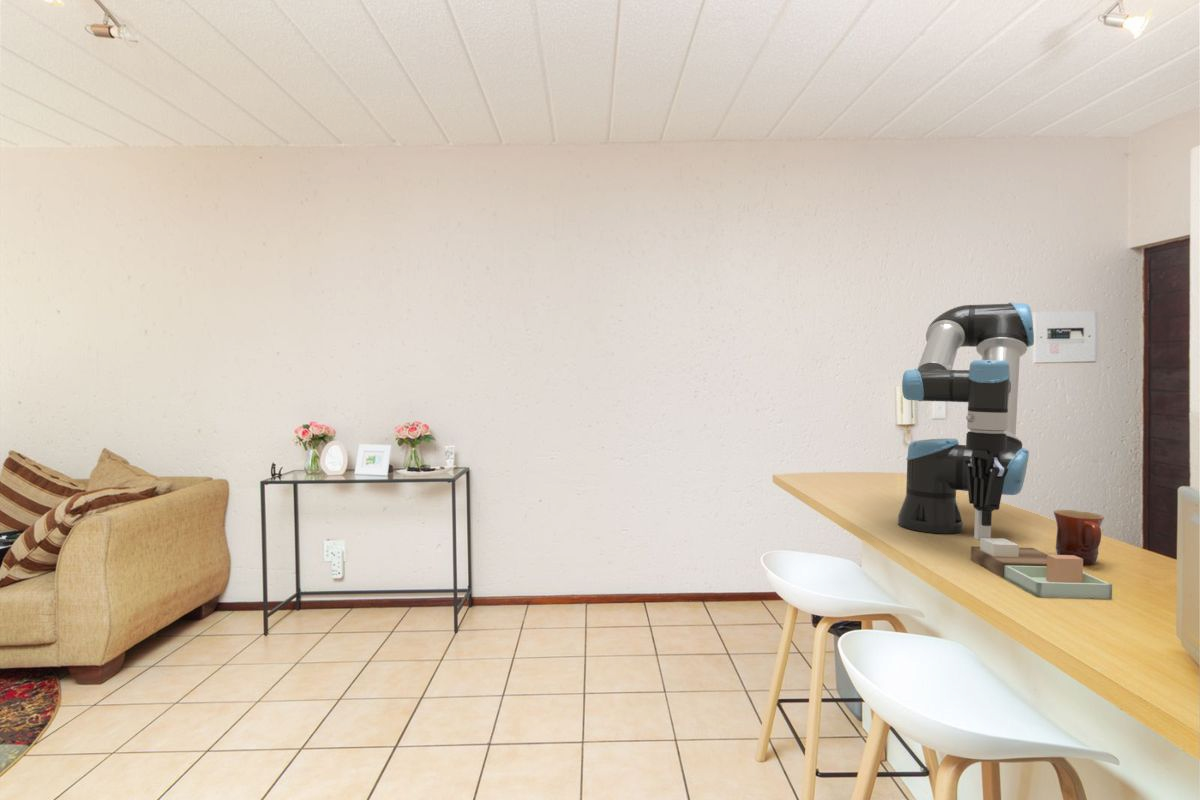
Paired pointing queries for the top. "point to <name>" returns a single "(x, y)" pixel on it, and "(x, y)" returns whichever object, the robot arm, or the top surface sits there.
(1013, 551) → the tile white
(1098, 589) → the tray
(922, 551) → the top surface
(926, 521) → the robot arm
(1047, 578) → the tile terracotta
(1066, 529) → the mug
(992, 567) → the board
